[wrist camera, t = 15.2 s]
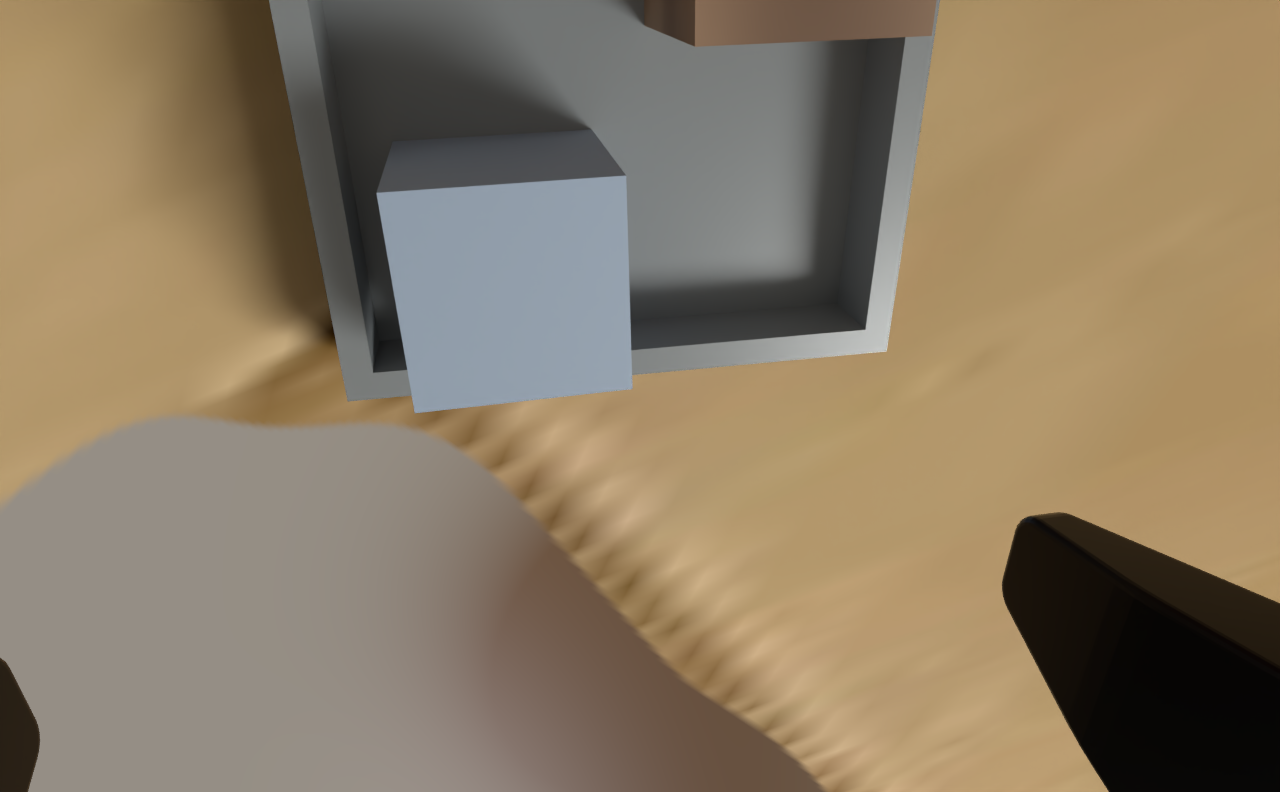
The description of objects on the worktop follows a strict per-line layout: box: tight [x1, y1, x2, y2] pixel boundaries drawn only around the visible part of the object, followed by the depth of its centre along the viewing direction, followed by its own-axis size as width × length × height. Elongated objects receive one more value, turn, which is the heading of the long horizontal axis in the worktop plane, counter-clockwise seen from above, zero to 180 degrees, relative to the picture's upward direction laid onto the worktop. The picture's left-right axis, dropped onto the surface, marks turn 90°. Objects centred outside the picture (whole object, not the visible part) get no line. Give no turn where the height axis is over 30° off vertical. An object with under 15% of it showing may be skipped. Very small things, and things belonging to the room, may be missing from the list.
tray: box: [269, 0, 940, 401], centre depth 16 cm, size 12×12×2 cm
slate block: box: [376, 129, 632, 413], centre depth 16 cm, size 4×4×4 cm
